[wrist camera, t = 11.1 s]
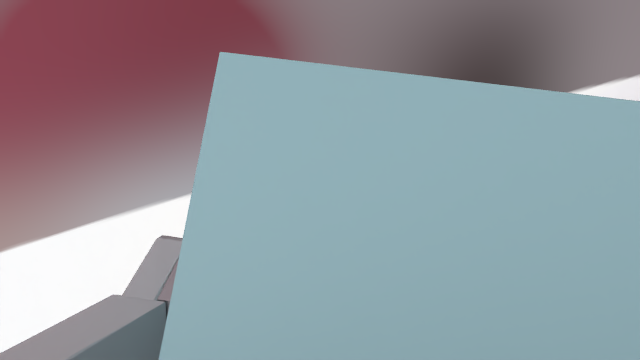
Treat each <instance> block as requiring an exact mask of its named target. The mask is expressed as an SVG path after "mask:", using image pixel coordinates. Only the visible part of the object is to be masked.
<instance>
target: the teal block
mask: <svg viewBox="0 0 640 360" xmlns="http://www.w3.org/2000/svg"><path fill="white" fill-rule="evenodd" d="M159 360H640V101H632V100H623V99H615V98H606V97H598V96H589V95H581V94H572V93H564V92H556V91H547V90H539V89H530V88H522V87H513V86H504V85H496V84H487V83H479V82H470V81H462V80H453V79H445V78H437V77H428V76H420V75H412V74H411V75H410V74H402V73H395V72H386V71H378V70H369V69H361V68H352V67H344V66H335V65H326V64H318V63H309V62H301V61H293V60H284V59H275V58H268V57H258V56H251V55H242V54H234V53H225V52H220V54H219V59H218V65H217V70H216V75H215V80H214V85H213V90H212V95H211V100H210V105H209V110H208V115H207V120H206V125H205V130H204V135H203V140H202V145H201V150H200V155H199V160H198V165H197V170H196V175H195V180H194V185H193V190H192V195H191V200H190V205H189V210H188V215H187V220H186V225H185V230H184V235H183V240H182V245H181V250H180V255H179V260H178V265H177V270H176V275H175V280H174V285H173V290H172V295H171V300H170V305H169V310H168V315H167V320H166V325H165V330H164V335H163V340H162V345H161V350H160V355H159Z"/></svg>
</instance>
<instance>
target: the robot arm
mask: <svg viewBox="0 0 640 360" xmlns="http://www.w3.org/2000/svg"><path fill="white" fill-rule="evenodd" d="M182 240H183V238H178V237H171V236H163V235H162V236H161V237H159V238H157V239H156V241H155V242H154V244H153V245H152V247H151V249H150V250H149V252H148V254H147V255H146V257H145V259H144V260H143V262H142V263H141V265H140V267H139V268H138V270H137V272H136V273H135V275H134V277H133V278H132V280H131V282H130V283H129V285H128V286H127V288H126V290H125V291H124V293H123V295H122V296H121V295H111V296H110V297H108V298H106V299H104V300H102V301H100V302H98V303H96V304H94V305H92V306H90V307H88V308H87V309H85V310H83V311H81V312H79V313H77V314H75V315H73V316H71V317H69V318H67V319H65V320H63V321H62V322H60V323H58V324H56V325H54V326H52V327H50V328H48V329H46V330H44V331H42V332H40V333H39V334H37V335H35V336H33V337H31V338H29V339H27V340H25V341H23V342H21V343H19V344H17V345H16V346H14V347H12V348H10V349H8V350H6V351H4V352H2V353H0V360H159V355H160V350H161V345H162V340H163V335H164V330H165V325H166V320H167V315H168V310H169V305H170V300H171V295H172V290H173V285H174V280H175V275H176V270H177V265H178V260H179V255H180V250H181V245H182Z"/></svg>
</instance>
